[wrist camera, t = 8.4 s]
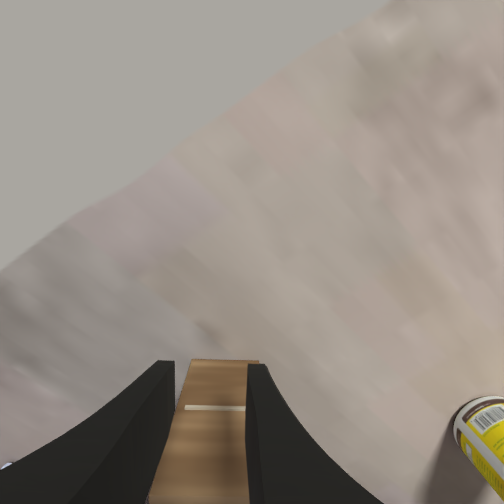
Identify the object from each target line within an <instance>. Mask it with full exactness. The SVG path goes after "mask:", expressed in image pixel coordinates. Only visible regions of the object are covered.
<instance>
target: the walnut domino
mask: <svg viewBox="0 0 504 504" xmlns="http://www.w3.org/2000/svg"><path fill="white" fill-rule="evenodd" d="M248 363H251V364H259V361H248V360H207V359H192V360H191V364H190V367H189V370H188V373H187V376H186V379H185V382H184V386H183V389H182V392H181V395H180V398H179V401H178V405H177V408H176V411H175V414H174V417H173V420H172V424H171V428H170V432H169V436H168V439H167V442H166V445H165V448H164V451H163V453H162V456H161V459H160V462H159V465H158V468H157V471H156V474H155V477H154V480H153V483H152V487H151V490H150V493H149V504H250V501H249V488H248V475H247V462H246V449H245V408H246V388H247V368H248Z"/></svg>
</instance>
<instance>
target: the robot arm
mask: <svg viewBox="0 0 504 504" xmlns="http://www.w3.org/2000/svg"><path fill="white" fill-rule="evenodd" d="M174 411H175V361H162V360H158V361H157V362H155V363H154V364H153V365H152V366H151V367H150V368H148V369H147V370H146V371H145V372H144V373H143V374H142V375H141V376H139V377H138V378H137V379H136V380H135V381H134V382H133V383H132V384H130V385H129V386H128V387H127V388H126V389H124V390H123V391H122V392H121V393H120V394H119V395H117V396H116V397H115V398H114V399H112V400H111V401H110V402H108V403H107V404H106V405H105V406H103V407H102V408H101V409H99V410H98V411H97V412H96V413H94V414H93V415H91V416H90V417H89V418H87V419H86V420H84V421H83V422H81V423H80V424H78V425H77V426H75V427H74V428H72V429H71V430H69V431H68V432H66V433H65V434H63V435H62V436H60V437H58V438H57V439H55V440H53V441H52V442H50V443H48V444H46V445H45V446H43V447H41V448H39V449H38V450H36V451H34V452H32V453H31V454H29V455H27V456H26V457H24V458H22V459H20V460H18V461H16V462H14V463H6V464H5V465H4V466H3V467H2V468H1V470H0V504H144V503H145V500H146V497H147V495H148V492H149V489H150V486H151V484H152V481H153V478H154V475H155V473H156V470H157V467H158V465H159V462H160V459H161V456H162V453H163V451H164V448H165V445H166V442H167V439H168V436H169V432H170V428H171V424H172V420H173V416H174ZM245 449H246V462H247V475H248V488H249V501H250V504H384V503H382V502H381V501H380V500H378V499H377V498H376V497H374V496H373V495H372V494H371V493H369V492H368V491H367V490H366V489H365V488H363V487H362V486H361V485H360V484H359V483H357V482H356V481H355V480H354V479H353V478H352V477H350V476H349V475H348V474H347V473H346V472H345V471H344V470H343V469H342V468H341V467H340V466H339V465H338V464H337V463H336V462H335V461H333V460H332V459H331V458H330V457H329V456H328V455H327V454H326V453H325V451H324V450H323V449H322V448H321V447H320V446H319V445H318V444H317V443H316V442H315V440H314V439H313V438H312V437H311V436H310V435H309V433H308V432H307V431H306V430H305V428H304V427H303V426H302V424H301V423H300V422H299V420H298V419H297V418H296V416H295V415H294V414H293V412H292V411H291V409H290V408H289V406H288V405H287V403H286V402H285V400H284V398H283V397H282V395H281V394H280V392H279V390H278V388H277V387H276V385H275V383H274V381H273V379H272V377H271V375H270V373H269V371H268V368H267V366H266V365H265V364H251V363H248V368H247V388H246V408H245Z"/></svg>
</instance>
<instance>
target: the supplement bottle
mask: <svg viewBox="0 0 504 504" xmlns="http://www.w3.org/2000/svg"><path fill="white" fill-rule="evenodd" d="M453 432H454V437H455V440H456V443H457V444H458V446H459V447H460V449H461V450H462V451H463V452H464V454H465V455H466V456H467V457H468V458H469V460H470V461H471V462H472V463H473V464H474V466H475V467H476V468H477V469H478V471H479V472H480V473H481V474H482V475H483V477H484V478H485V479H486V480H487V482H488V483H489V484H490V485H491V486H492V488H493V489H494V490H495V491H496V493H497V494H498V495H499V496H500V497H501V499H502V500H503V501H504V398H503V397H498V396H486V397H482V398H478V399H476V400H474V401H472V402H470V403H468V404H467V405H466V406H465V407H464V408H463V409H462V410H461V411H460V412H459V414H458V415H457V417H456V419H455V422H454V427H453Z"/></svg>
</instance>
